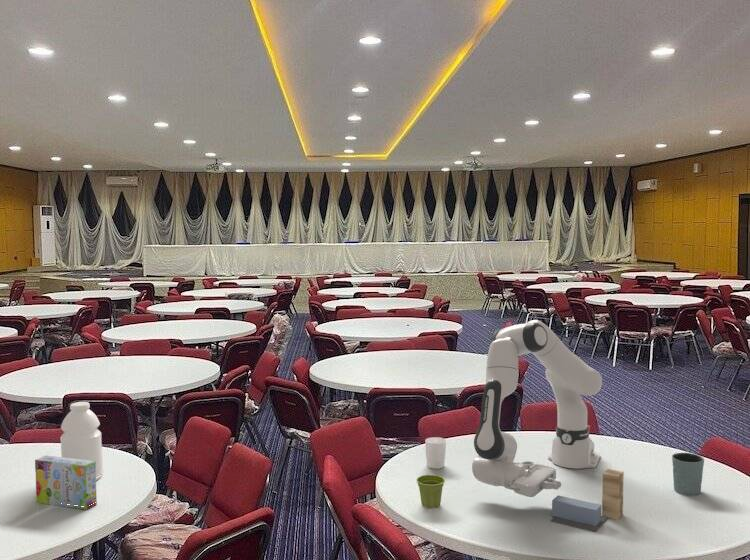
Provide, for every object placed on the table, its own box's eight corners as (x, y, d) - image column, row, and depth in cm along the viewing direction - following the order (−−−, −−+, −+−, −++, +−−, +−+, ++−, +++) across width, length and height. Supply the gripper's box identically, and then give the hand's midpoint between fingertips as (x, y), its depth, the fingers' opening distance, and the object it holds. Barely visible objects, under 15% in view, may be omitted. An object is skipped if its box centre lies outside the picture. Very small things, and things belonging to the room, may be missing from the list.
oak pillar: (606, 511, 232) (607, 468, 231) (622, 514, 229) (623, 471, 228) (602, 516, 228) (602, 473, 227) (617, 520, 225) (618, 476, 224)
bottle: (53, 482, 261) (50, 406, 259) (82, 469, 274) (79, 397, 272) (83, 487, 256) (80, 410, 254) (111, 474, 269) (108, 400, 267)
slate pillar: (557, 495, 232) (601, 504, 224) (557, 510, 232) (601, 520, 224) (552, 500, 227) (596, 510, 219) (551, 515, 228) (595, 526, 220)
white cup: (444, 469, 271) (444, 444, 270) (423, 468, 273) (423, 442, 272) (446, 463, 279) (446, 437, 278) (426, 461, 280) (426, 436, 280)
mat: (564, 508, 234) (564, 507, 234) (607, 518, 226) (607, 517, 226) (550, 521, 224) (550, 520, 224) (595, 531, 216) (595, 531, 216)
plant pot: (437, 513, 231) (437, 486, 231) (411, 507, 236) (411, 481, 236) (449, 503, 239) (449, 477, 239) (424, 497, 244) (424, 472, 243)
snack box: (98, 504, 241) (96, 460, 239) (86, 510, 235) (84, 465, 234) (47, 496, 248) (45, 454, 246) (35, 503, 242) (33, 459, 241)
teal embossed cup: (703, 488, 251) (704, 454, 250) (703, 498, 242) (704, 463, 241) (671, 484, 255) (672, 451, 254) (670, 493, 246) (671, 459, 245)
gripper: (505, 477, 228) (547, 486, 220) (531, 459, 244) (570, 467, 236) (505, 496, 228) (547, 506, 220) (530, 477, 245) (570, 485, 237)
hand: (559, 485), depth 228 cm, fingers closed
